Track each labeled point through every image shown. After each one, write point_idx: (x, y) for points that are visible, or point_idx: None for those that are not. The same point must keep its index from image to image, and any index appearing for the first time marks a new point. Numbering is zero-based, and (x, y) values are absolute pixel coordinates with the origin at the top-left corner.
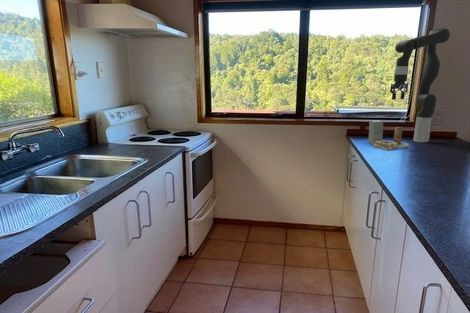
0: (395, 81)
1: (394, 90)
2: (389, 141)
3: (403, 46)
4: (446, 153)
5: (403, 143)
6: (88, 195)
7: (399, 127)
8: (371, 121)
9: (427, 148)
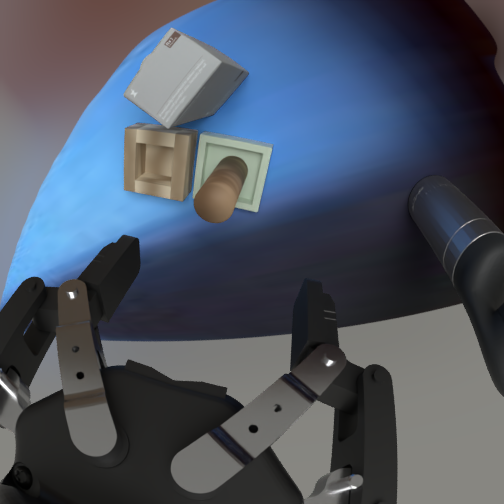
0: (10, 472)
1: (44, 343)
2: (181, 164)
3: None
4: (262, 306)
5: (255, 192)
6: None
7: (220, 204)
8: (147, 57)
9: (299, 255)
